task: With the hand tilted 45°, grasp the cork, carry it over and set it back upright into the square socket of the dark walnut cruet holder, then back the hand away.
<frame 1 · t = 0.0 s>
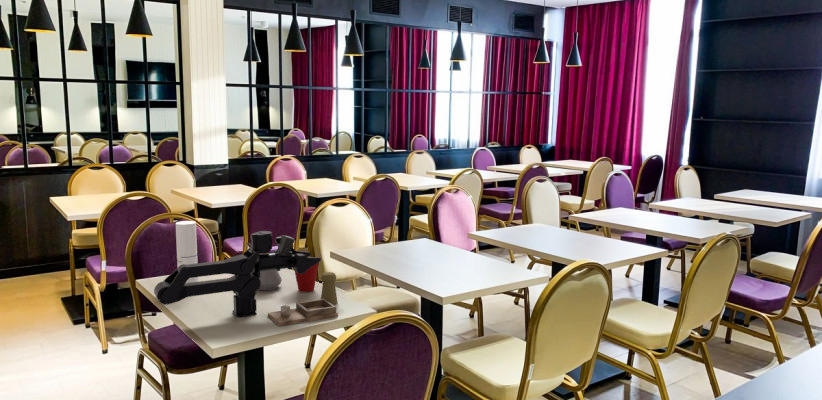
hand: (315, 256, 219), 17 cm above the table, tool horizontal, fingers open, 9 cm apart
cruet holder: (303, 316, 207), on the table
coffee pot: (260, 285, 243), on the table
cylindrical container: (188, 288, 238), on the table
plastic cup: (306, 290, 237), on the table
cork: (328, 303, 221), on the table
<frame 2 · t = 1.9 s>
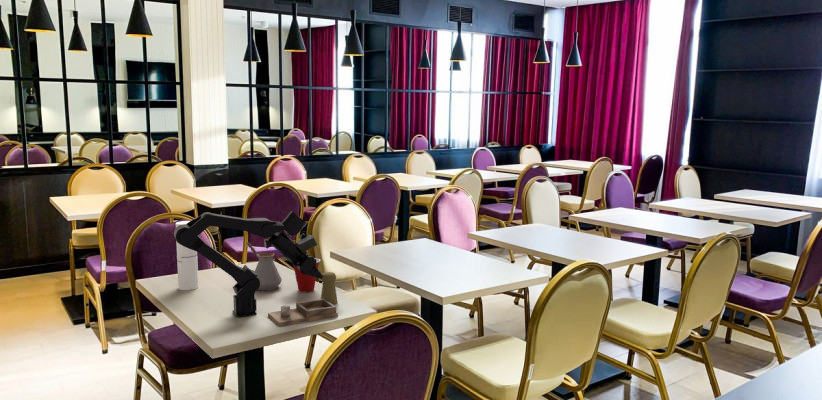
hand: (318, 274, 218), 11 cm above the table, tool tilted 45°, fingers open, 9 cm apart
nothing on the table moved.
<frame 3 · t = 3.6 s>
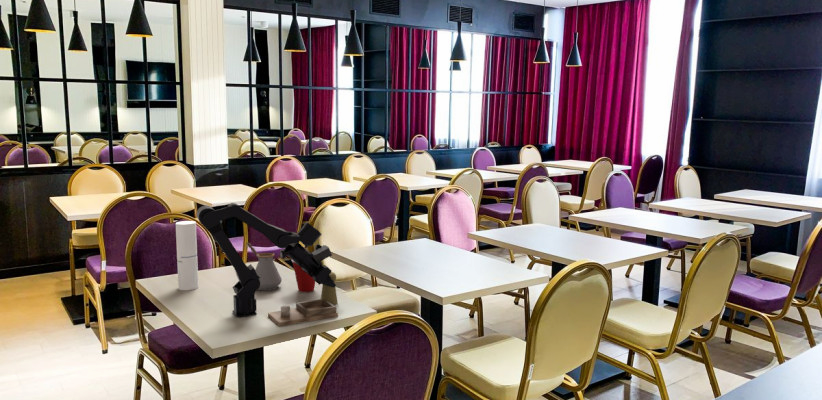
hand: (332, 284, 220), 7 cm above the table, tool tilted 45°, fingers closed on cork, 5 cm apart
cork: (328, 303, 221), on the table, touching gripper
everything else where it was.
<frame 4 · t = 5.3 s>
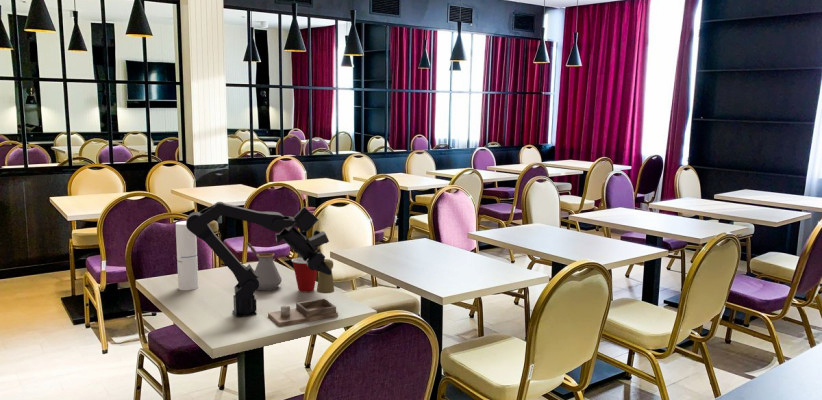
hand: (329, 272, 216), 12 cm above the table, tool tilted 45°, fingers closed on cork, 5 cm apart
cork: (325, 291, 216), point 5 cm above the table, touching gripper
everything else where it was.
when the fingers open (9 cm above the table, at t = 7.1 s): cork stays where it is, resting on cruet holder.
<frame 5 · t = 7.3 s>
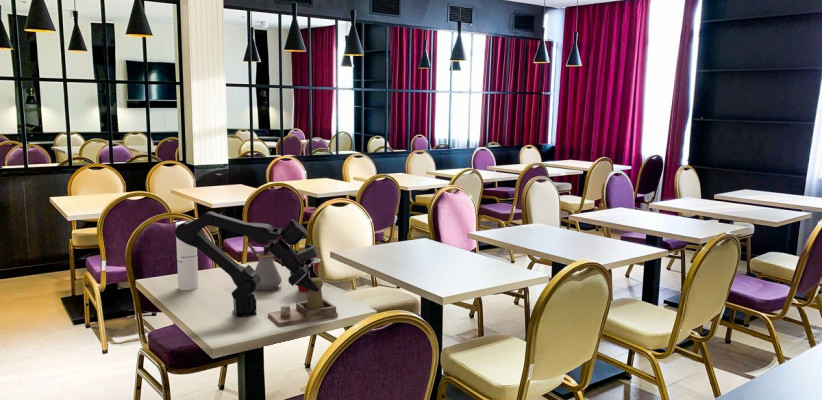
hand: (319, 287, 208), 9 cm above the table, tool tilted 45°, fingers open, 7 cm apart
cork: (315, 311, 209), point 1 cm above the table, touching cruet holder
everything else where it was.
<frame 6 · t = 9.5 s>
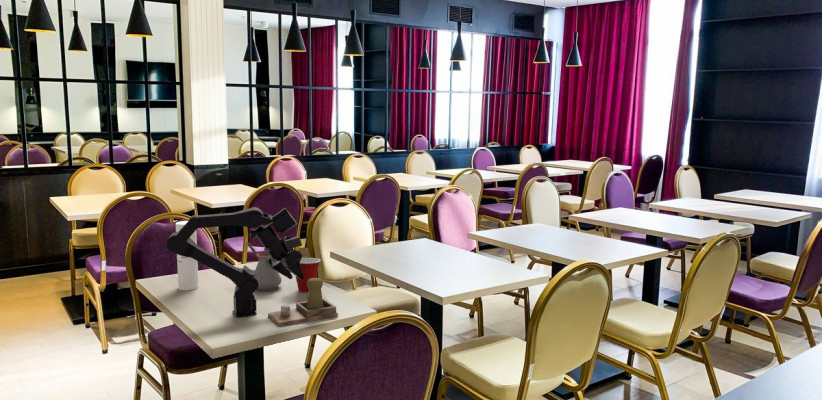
hand: (297, 278, 211), 11 cm above the table, tool tilted 30°, fingers open, 9 cm apart
nothing on the table moved.
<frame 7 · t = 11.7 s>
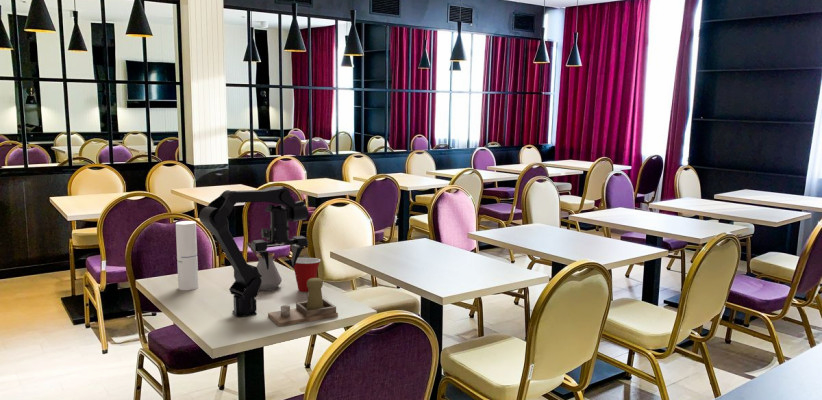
hand: (280, 267, 217), 13 cm above the table, tool pointing down, fingers open, 9 cm apart
nothing on the table moved.
at the end: cork 0.3 cm from the target spot on the cruet holder, point 1.0 cm above the cruet holder's base; cork tilted 0°; the gripper is holding nothing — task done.
